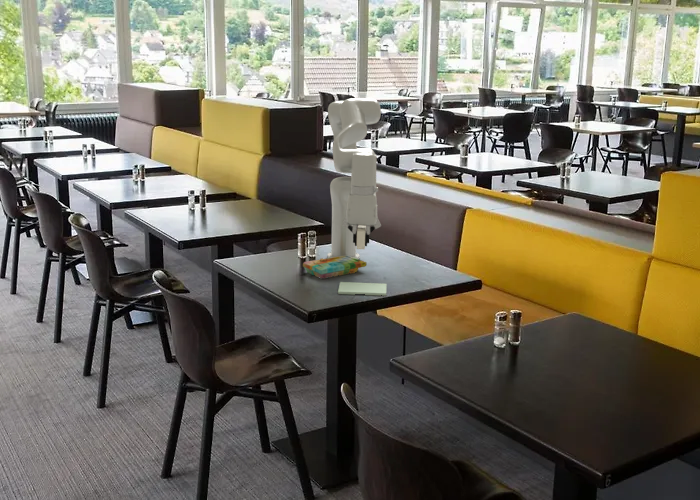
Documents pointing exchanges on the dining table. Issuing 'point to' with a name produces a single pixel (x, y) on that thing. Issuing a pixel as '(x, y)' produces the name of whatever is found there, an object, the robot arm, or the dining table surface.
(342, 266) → the puzzle game
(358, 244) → the card box
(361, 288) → the mat
